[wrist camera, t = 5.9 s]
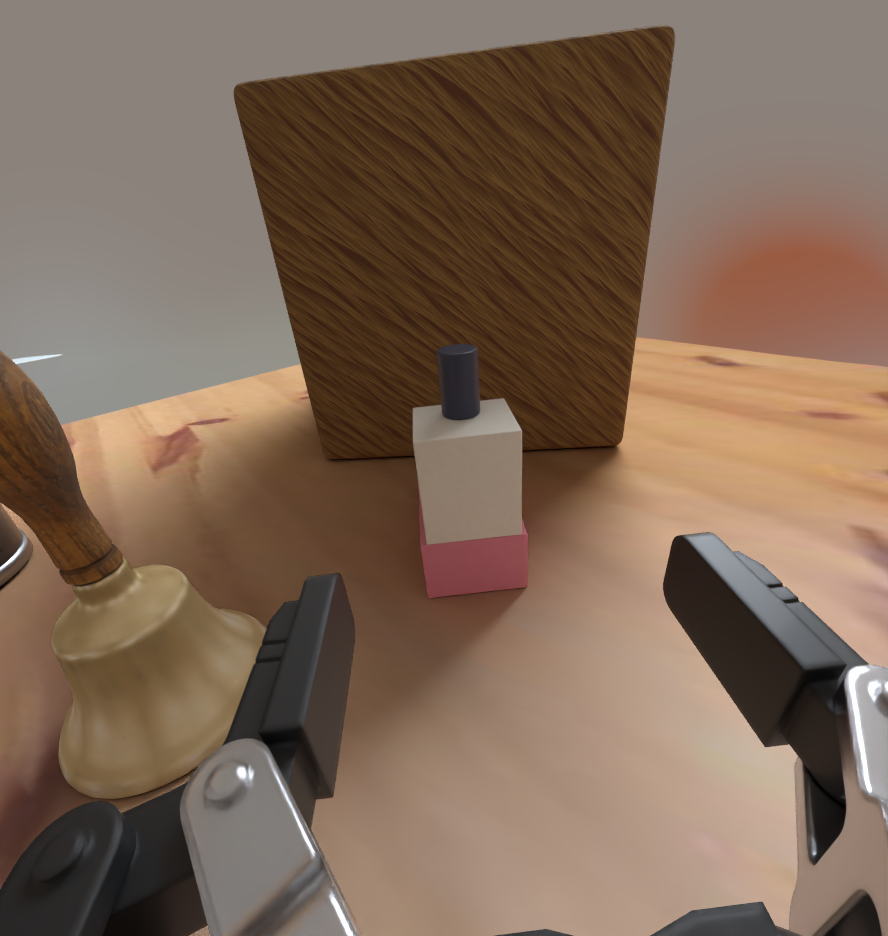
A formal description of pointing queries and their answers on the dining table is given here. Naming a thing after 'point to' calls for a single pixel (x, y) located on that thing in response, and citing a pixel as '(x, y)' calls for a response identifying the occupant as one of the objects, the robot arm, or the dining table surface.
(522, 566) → the block stack
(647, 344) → the dining table surface
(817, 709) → the robot arm
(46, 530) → the hand bell
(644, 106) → the wood block
